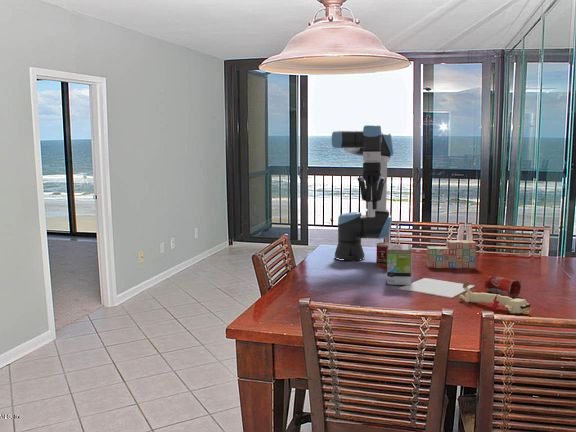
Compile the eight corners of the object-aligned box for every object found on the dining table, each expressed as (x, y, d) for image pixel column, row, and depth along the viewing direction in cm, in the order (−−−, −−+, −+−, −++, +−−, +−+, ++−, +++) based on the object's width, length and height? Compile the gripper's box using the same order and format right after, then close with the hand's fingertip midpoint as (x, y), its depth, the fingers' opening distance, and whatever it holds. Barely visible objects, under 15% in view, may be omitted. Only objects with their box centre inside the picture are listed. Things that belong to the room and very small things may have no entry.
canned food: (374, 267, 261) (374, 244, 260) (379, 264, 268) (379, 241, 267) (389, 269, 257) (390, 245, 256) (395, 265, 264) (395, 242, 263)
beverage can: (492, 290, 218) (493, 273, 218) (521, 296, 209) (521, 279, 208) (481, 293, 214) (482, 276, 213) (510, 299, 205) (510, 282, 204)
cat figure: (455, 307, 201) (522, 317, 182) (454, 283, 200) (521, 290, 181) (470, 302, 207) (537, 311, 188) (469, 278, 207) (536, 285, 188)
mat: (399, 289, 221) (399, 288, 221) (424, 278, 238) (424, 277, 238) (451, 298, 207) (451, 297, 207) (474, 286, 223) (474, 285, 223)
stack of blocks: (428, 268, 259) (429, 242, 257) (426, 265, 265) (427, 239, 263) (475, 268, 257) (476, 242, 256) (472, 265, 263) (473, 240, 262)
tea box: (411, 285, 225) (411, 249, 223) (386, 285, 227) (386, 249, 225) (411, 277, 239) (411, 243, 238) (387, 277, 241) (387, 243, 240)
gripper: (353, 161, 237) (353, 216, 240) (381, 162, 229) (380, 219, 232) (362, 161, 243) (362, 214, 246) (390, 161, 234) (389, 217, 237)
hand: (371, 216), depth 239 cm, fingers closed
